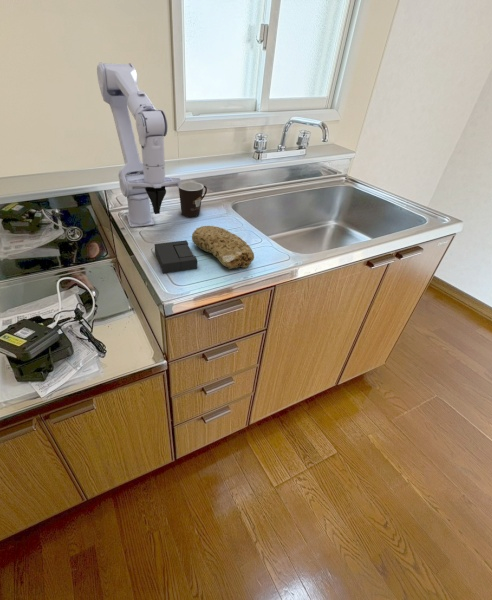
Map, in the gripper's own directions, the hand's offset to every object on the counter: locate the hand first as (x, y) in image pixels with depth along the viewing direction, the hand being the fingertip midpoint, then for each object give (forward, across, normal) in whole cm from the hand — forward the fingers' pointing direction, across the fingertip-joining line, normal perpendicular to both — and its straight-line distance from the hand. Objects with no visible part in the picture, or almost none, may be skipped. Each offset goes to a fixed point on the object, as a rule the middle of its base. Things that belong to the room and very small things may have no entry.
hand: (156, 212), depth 92 cm
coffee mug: (+10, +17, +17) cm, 26 cm away
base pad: (+9, +2, -12) cm, 15 cm away
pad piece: (+9, +5, -12) cm, 16 cm away
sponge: (+10, +16, -12) cm, 22 cm away
